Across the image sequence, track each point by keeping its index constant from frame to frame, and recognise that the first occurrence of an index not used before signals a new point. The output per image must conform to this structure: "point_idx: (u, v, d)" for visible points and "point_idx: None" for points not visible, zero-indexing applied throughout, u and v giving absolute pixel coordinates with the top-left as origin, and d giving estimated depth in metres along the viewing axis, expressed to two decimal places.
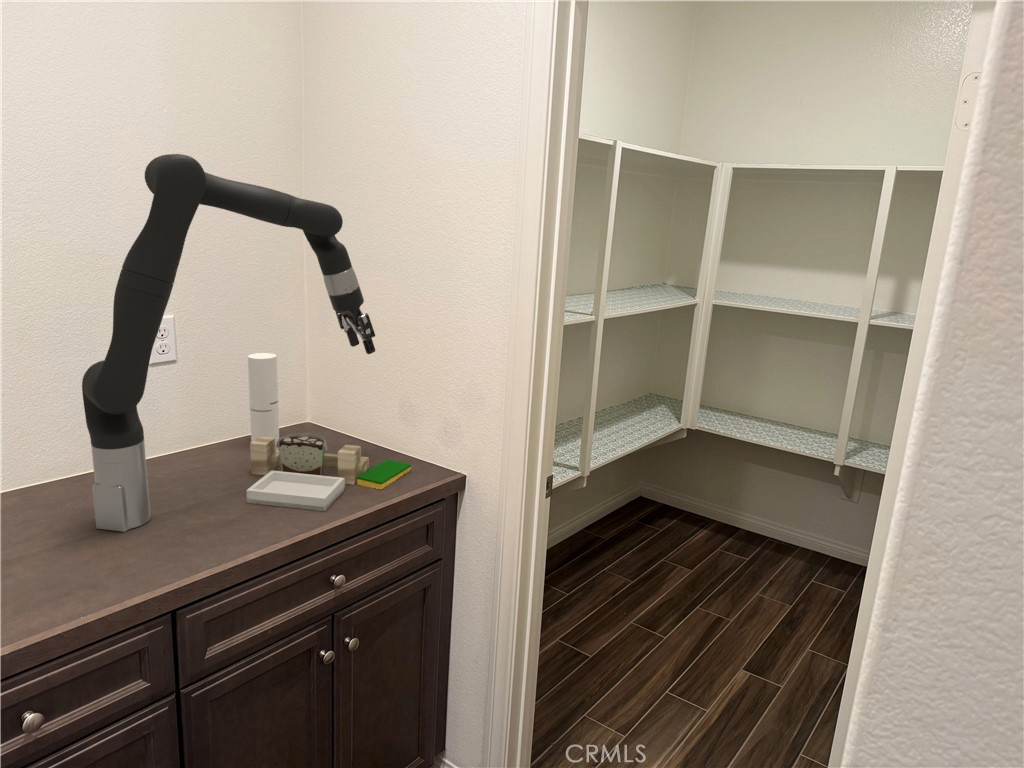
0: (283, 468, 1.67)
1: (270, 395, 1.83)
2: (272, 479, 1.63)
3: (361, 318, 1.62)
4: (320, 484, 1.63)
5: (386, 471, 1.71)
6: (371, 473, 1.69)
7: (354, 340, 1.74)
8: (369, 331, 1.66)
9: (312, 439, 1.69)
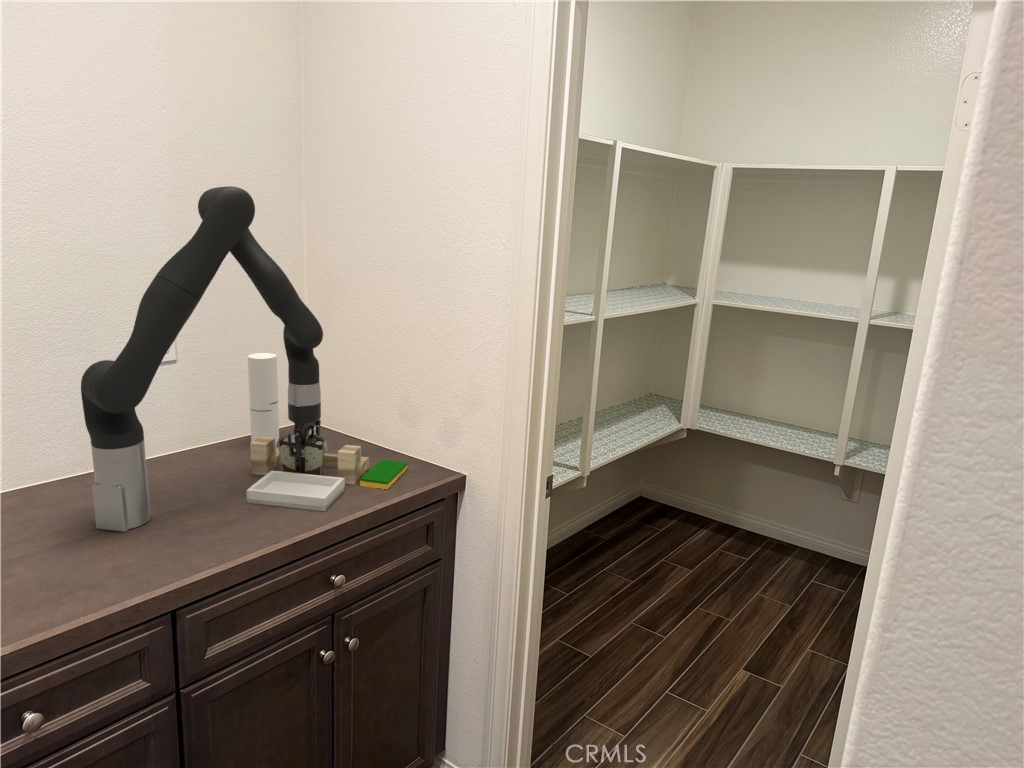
0: (283, 468, 1.67)
1: (270, 395, 1.83)
2: (272, 479, 1.63)
3: (289, 437, 1.61)
4: (320, 484, 1.63)
5: (387, 471, 1.71)
6: (373, 474, 1.68)
7: None
8: (302, 451, 1.64)
9: (312, 439, 1.69)
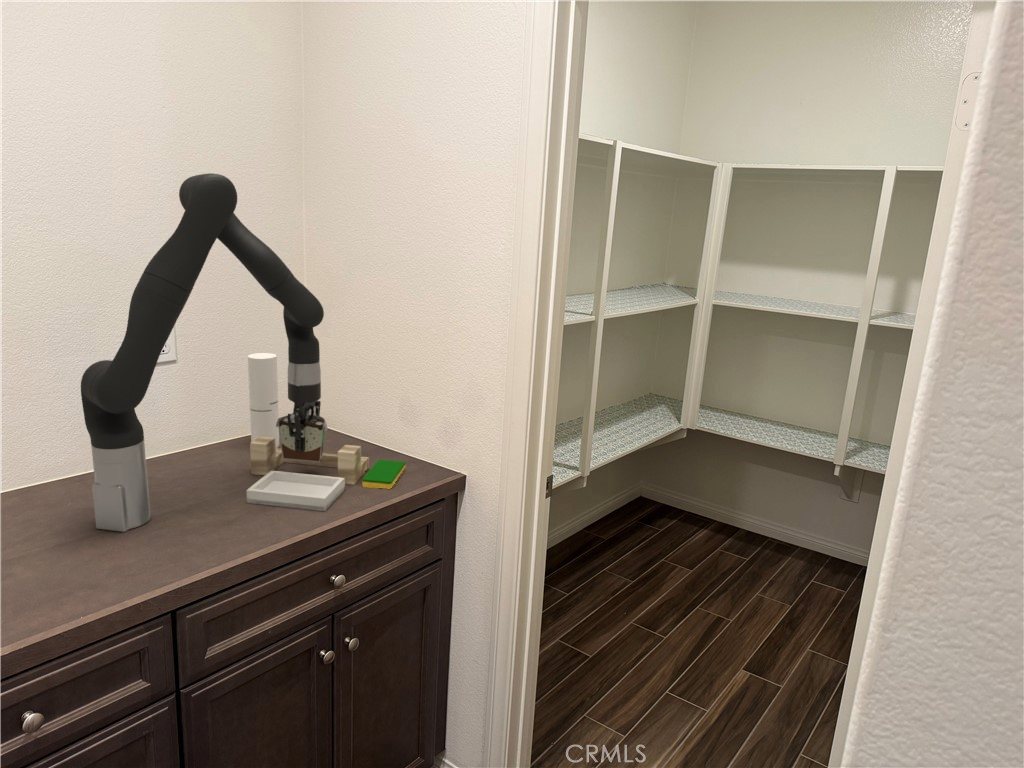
0: (283, 448, 1.66)
1: (270, 395, 1.83)
2: (272, 479, 1.63)
3: (289, 417, 1.60)
4: (320, 484, 1.63)
5: (387, 471, 1.71)
6: (374, 474, 1.68)
7: None
8: (302, 431, 1.64)
9: None
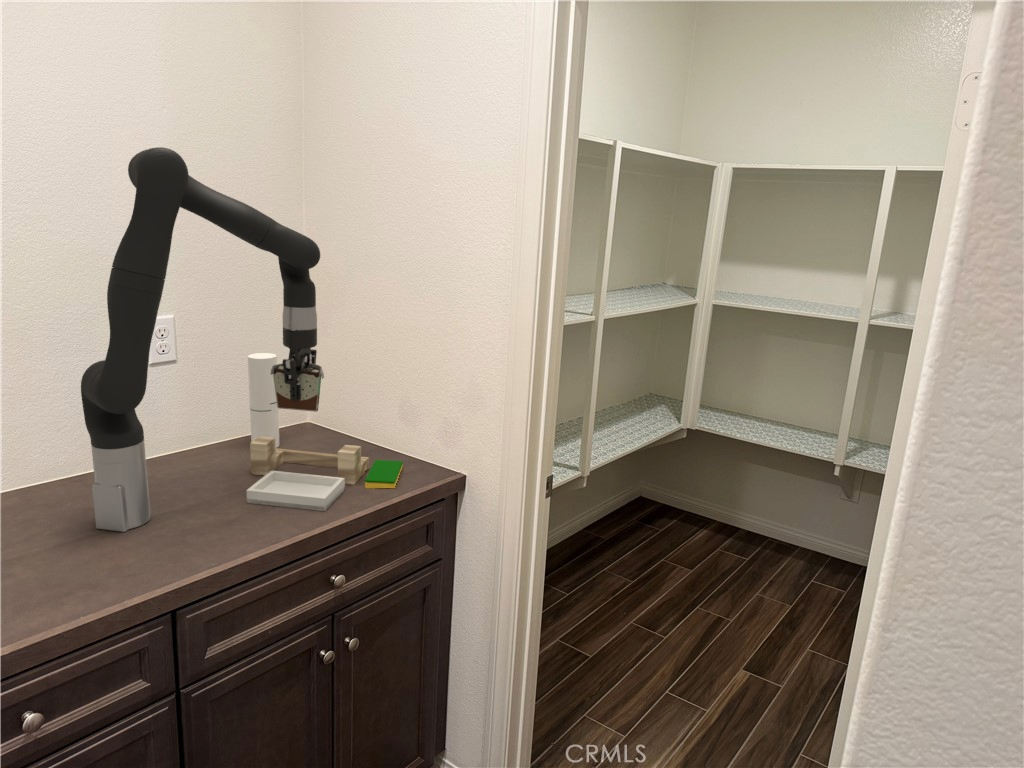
0: (278, 397, 1.60)
1: (270, 395, 1.83)
2: (272, 479, 1.63)
3: (284, 362, 1.54)
4: (320, 484, 1.63)
5: (387, 471, 1.71)
6: (376, 475, 1.68)
7: None
8: (298, 379, 1.58)
9: (308, 368, 1.62)
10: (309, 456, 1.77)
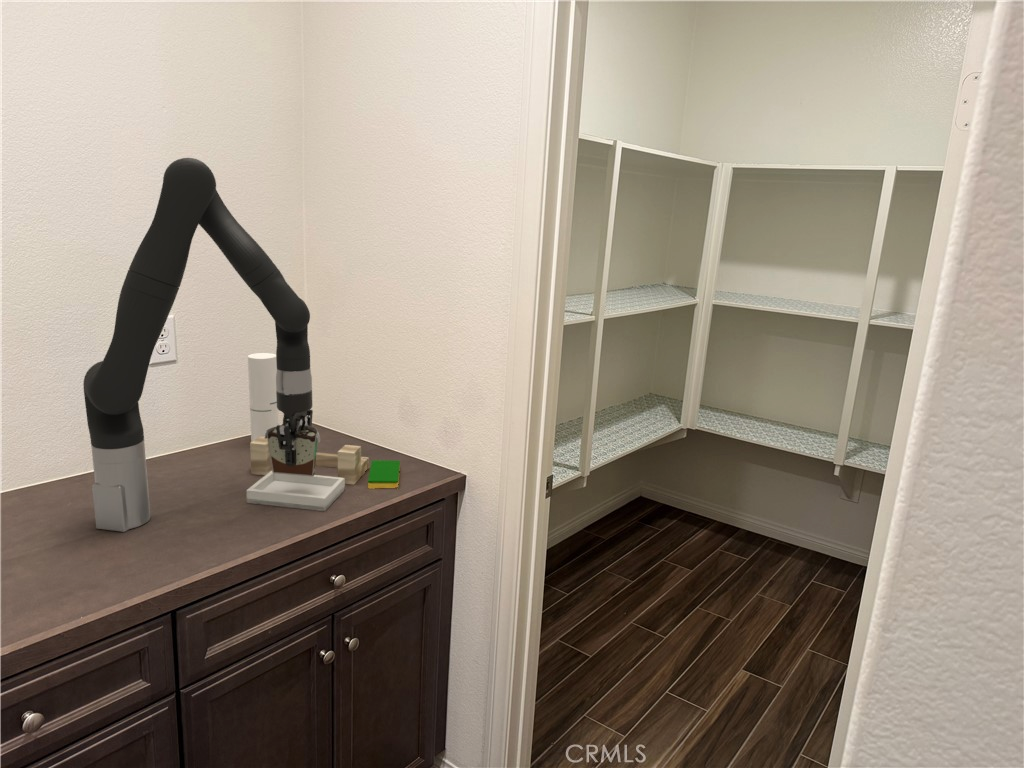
0: (273, 462, 1.55)
1: (270, 395, 1.83)
2: (272, 479, 1.63)
3: (278, 428, 1.48)
4: (320, 484, 1.63)
5: (388, 470, 1.71)
6: (377, 475, 1.68)
7: None
8: (293, 444, 1.52)
9: (304, 430, 1.56)
10: None
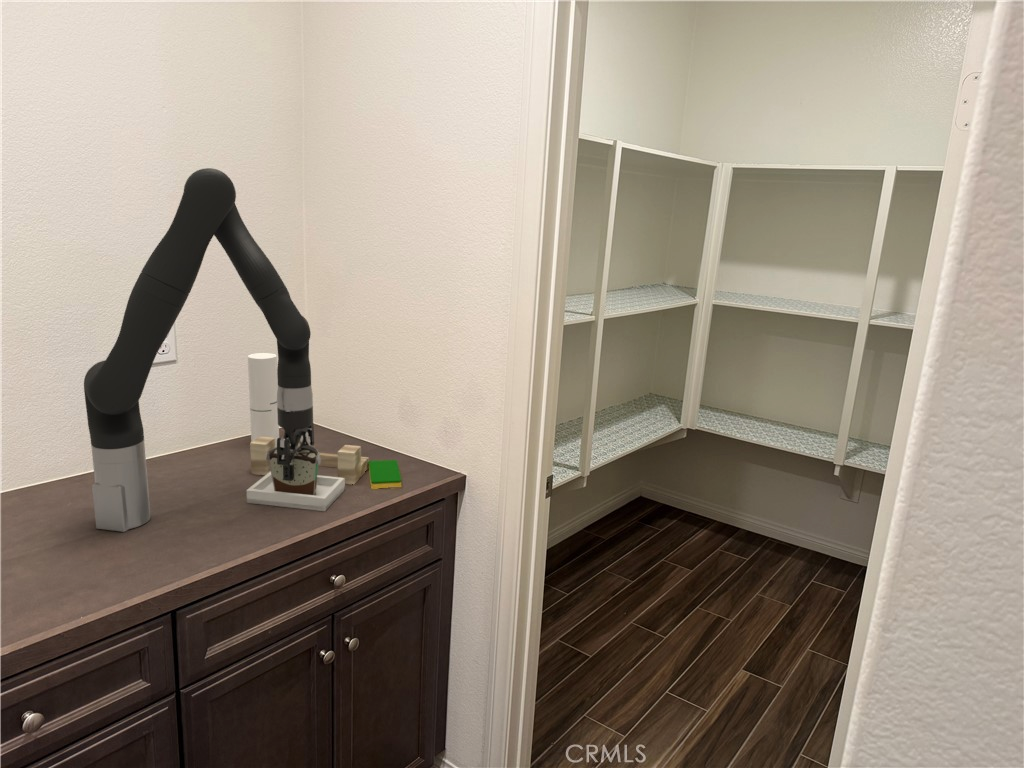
0: (274, 482, 1.57)
1: (270, 395, 1.83)
2: None
3: (279, 440, 1.48)
4: (320, 484, 1.63)
5: (388, 470, 1.71)
6: (379, 475, 1.68)
7: None
8: (291, 458, 1.51)
9: (305, 450, 1.58)
10: None
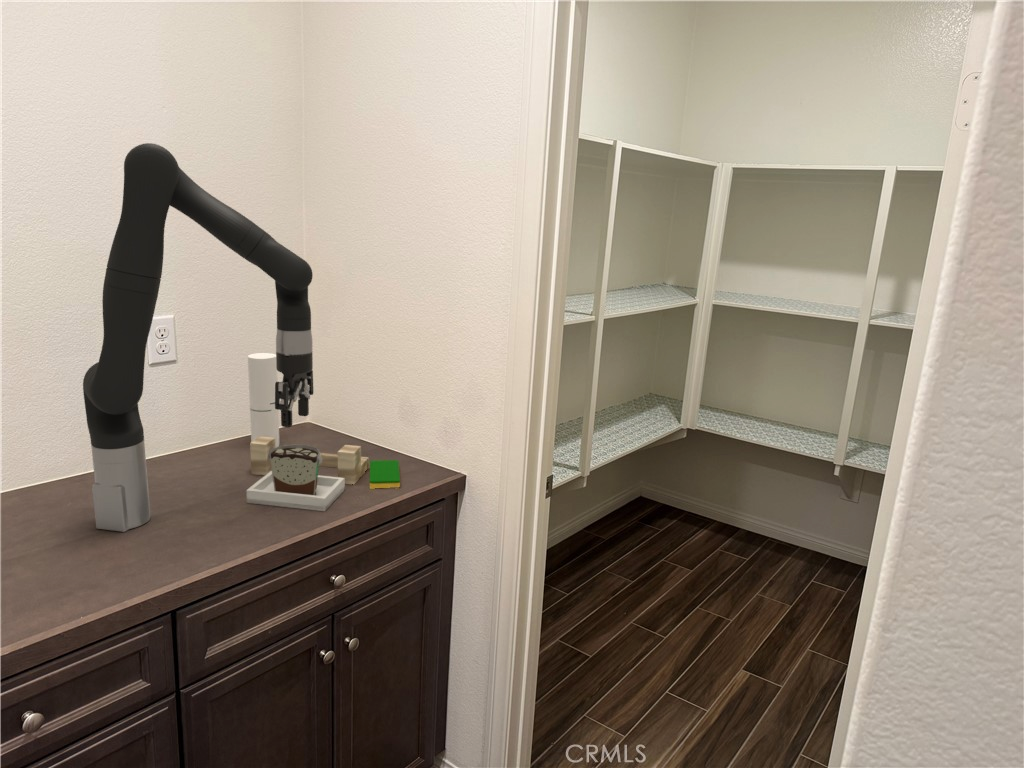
0: (275, 481, 1.57)
1: (270, 395, 1.83)
2: (272, 479, 1.63)
3: (277, 384, 1.45)
4: (320, 484, 1.63)
5: (388, 470, 1.71)
6: (378, 475, 1.68)
7: (302, 410, 1.57)
8: (290, 403, 1.48)
9: (306, 450, 1.59)
10: None
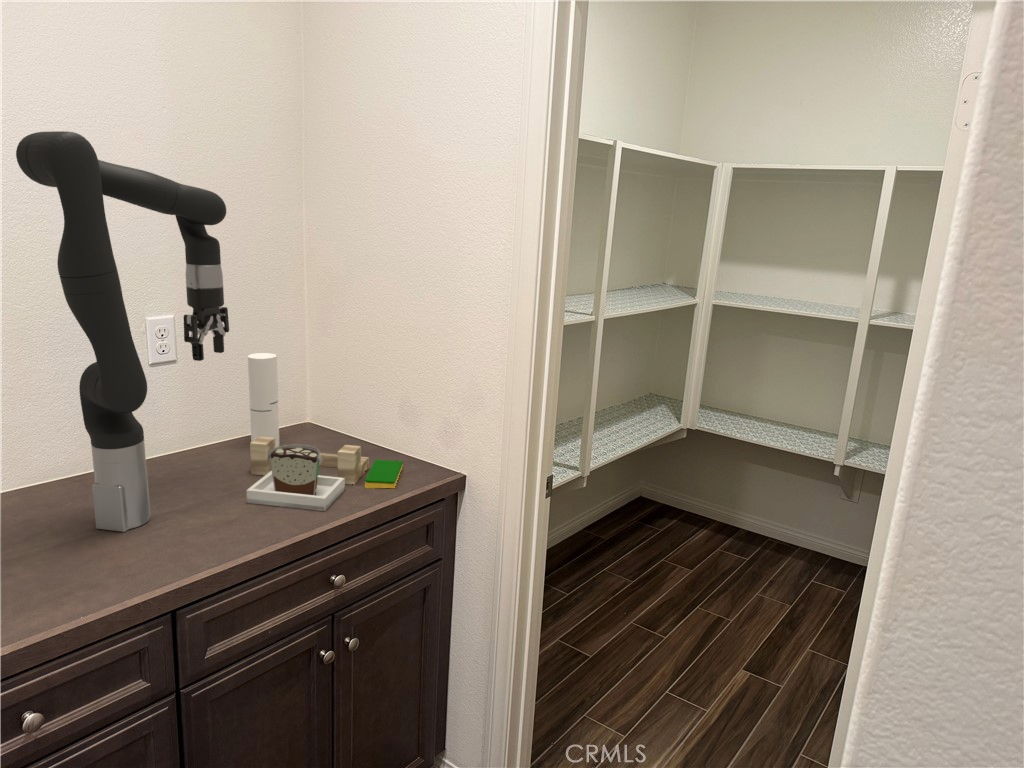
0: (275, 481, 1.57)
1: (270, 395, 1.83)
2: (272, 479, 1.63)
3: (185, 317, 1.48)
4: (320, 484, 1.63)
5: (387, 471, 1.71)
6: (375, 475, 1.68)
7: (217, 346, 1.61)
8: (200, 337, 1.51)
9: (306, 451, 1.59)
10: None
